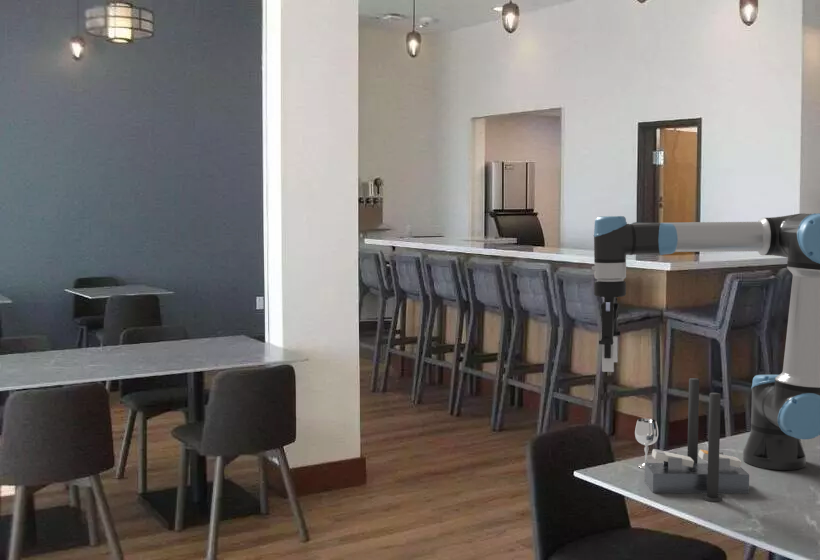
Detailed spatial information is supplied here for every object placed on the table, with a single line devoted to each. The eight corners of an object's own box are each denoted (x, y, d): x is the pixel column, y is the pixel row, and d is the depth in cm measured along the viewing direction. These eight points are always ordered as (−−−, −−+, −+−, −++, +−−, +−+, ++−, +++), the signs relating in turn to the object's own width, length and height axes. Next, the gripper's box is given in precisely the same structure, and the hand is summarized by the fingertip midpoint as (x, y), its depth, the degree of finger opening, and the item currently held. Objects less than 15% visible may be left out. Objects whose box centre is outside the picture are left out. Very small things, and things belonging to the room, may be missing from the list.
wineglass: (658, 470, 229) (659, 423, 228) (634, 469, 230) (635, 422, 229) (656, 464, 234) (657, 418, 233) (634, 462, 236) (634, 417, 235)
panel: (736, 482, 219) (737, 450, 218) (748, 493, 210) (749, 461, 209) (644, 481, 220) (645, 449, 219) (652, 492, 211) (653, 460, 210)
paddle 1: (688, 462, 216) (690, 456, 216) (692, 467, 213) (694, 460, 212) (651, 454, 217) (652, 448, 217) (655, 459, 213) (656, 452, 213)
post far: (698, 474, 226) (700, 377, 224) (702, 478, 222) (704, 380, 220) (681, 473, 226) (683, 377, 224) (685, 478, 222) (688, 380, 220)
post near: (718, 496, 208) (721, 392, 206) (724, 502, 204) (726, 395, 202) (701, 496, 208) (703, 391, 206) (706, 501, 204) (708, 395, 202)
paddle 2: (735, 463, 216) (736, 456, 216) (740, 467, 212) (742, 461, 212) (697, 455, 216) (699, 448, 216) (702, 459, 212) (704, 453, 212)
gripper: (598, 275, 232) (598, 357, 234) (589, 284, 208) (589, 375, 210) (628, 276, 230) (628, 358, 232) (622, 284, 206) (622, 376, 208)
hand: (610, 366), depth 221 cm, fingers open, 13 cm apart
